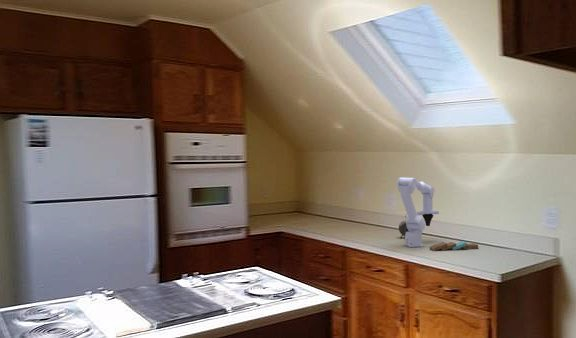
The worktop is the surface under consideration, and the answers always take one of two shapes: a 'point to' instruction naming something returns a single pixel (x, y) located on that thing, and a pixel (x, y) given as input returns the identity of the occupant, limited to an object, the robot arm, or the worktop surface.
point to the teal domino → (459, 245)
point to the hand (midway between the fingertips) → (427, 225)
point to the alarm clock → (403, 227)
